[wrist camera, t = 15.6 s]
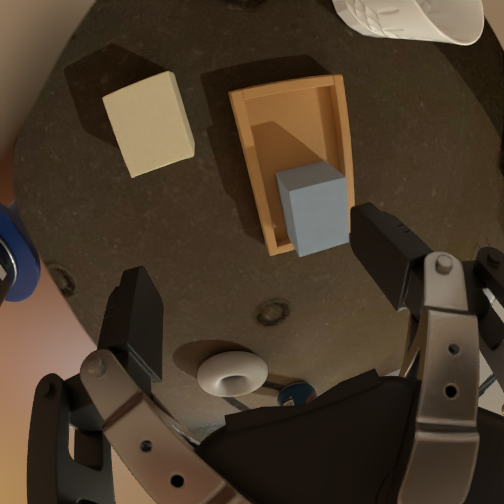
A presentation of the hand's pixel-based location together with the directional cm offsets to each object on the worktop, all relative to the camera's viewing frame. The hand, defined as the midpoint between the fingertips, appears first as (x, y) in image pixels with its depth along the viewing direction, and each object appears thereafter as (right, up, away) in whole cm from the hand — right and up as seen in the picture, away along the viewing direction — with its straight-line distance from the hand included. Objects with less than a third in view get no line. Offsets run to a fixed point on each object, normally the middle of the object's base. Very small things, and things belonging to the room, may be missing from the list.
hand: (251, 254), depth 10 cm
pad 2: (+5, +5, +14) cm, 15 cm away
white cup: (+9, +21, +5) cm, 23 cm away
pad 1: (-7, +10, +8) cm, 15 cm away
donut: (-3, -16, +28) cm, 32 cm away
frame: (+4, +8, +13) cm, 15 cm away
